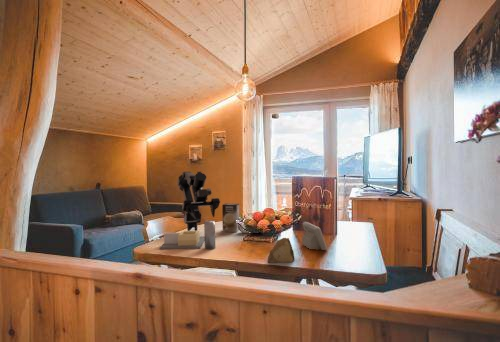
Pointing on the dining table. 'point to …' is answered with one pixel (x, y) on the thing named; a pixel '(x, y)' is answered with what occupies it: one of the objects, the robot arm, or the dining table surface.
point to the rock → (282, 251)
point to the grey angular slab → (313, 237)
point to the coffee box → (230, 217)
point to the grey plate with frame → (183, 240)
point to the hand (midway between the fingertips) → (205, 217)
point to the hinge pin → (209, 234)
